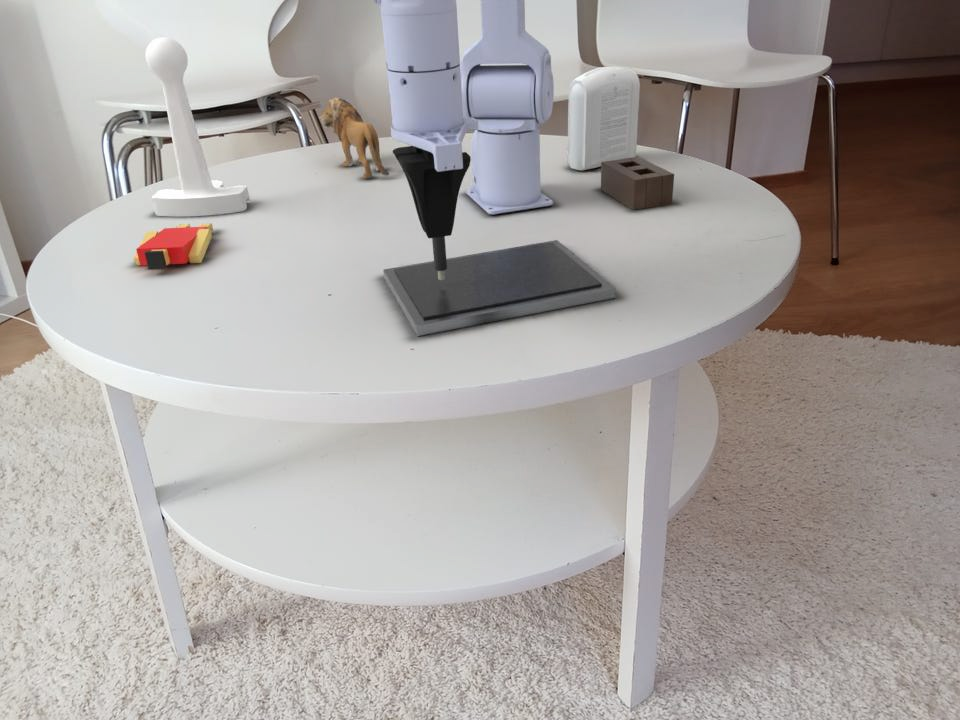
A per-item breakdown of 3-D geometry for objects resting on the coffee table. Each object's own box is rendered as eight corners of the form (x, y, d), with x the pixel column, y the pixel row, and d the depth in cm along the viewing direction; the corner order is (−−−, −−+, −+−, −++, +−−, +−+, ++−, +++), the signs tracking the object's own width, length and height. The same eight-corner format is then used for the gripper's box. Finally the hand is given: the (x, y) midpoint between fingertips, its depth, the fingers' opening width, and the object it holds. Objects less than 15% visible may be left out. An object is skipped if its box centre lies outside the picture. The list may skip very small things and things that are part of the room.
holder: (633, 210, 88) (634, 179, 86) (600, 190, 95) (601, 161, 93) (672, 203, 89) (674, 173, 88) (636, 184, 96) (638, 156, 95)
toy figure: (165, 218, 88) (118, 251, 77) (224, 215, 88) (186, 248, 77) (170, 239, 89) (124, 274, 78) (228, 237, 89) (191, 272, 78)
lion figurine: (322, 162, 113) (312, 99, 109) (354, 155, 116) (346, 93, 111) (372, 183, 103) (364, 113, 98) (406, 174, 105) (399, 106, 101)
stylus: (434, 277, 69) (427, 190, 66) (446, 275, 70) (439, 189, 66) (437, 282, 69) (429, 194, 65) (449, 280, 69) (442, 192, 65)
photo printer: (619, 153, 109) (623, 60, 103) (641, 159, 106) (646, 63, 100) (562, 167, 105) (562, 71, 99) (583, 173, 102) (584, 75, 95)
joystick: (151, 218, 94) (104, 42, 85) (172, 199, 101) (131, 34, 91) (242, 213, 94) (204, 37, 84) (257, 194, 101) (224, 29, 91)
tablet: (384, 278, 74) (382, 267, 74) (557, 249, 79) (557, 237, 78) (417, 336, 64) (415, 323, 63) (615, 298, 68) (616, 285, 67)
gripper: (499, 75, 55) (505, 255, 62) (452, 50, 67) (461, 202, 74) (401, 85, 54) (418, 267, 60) (371, 58, 66) (388, 212, 72)
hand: (437, 232), depth 67 cm, fingers closed on stylus, 1 cm apart
